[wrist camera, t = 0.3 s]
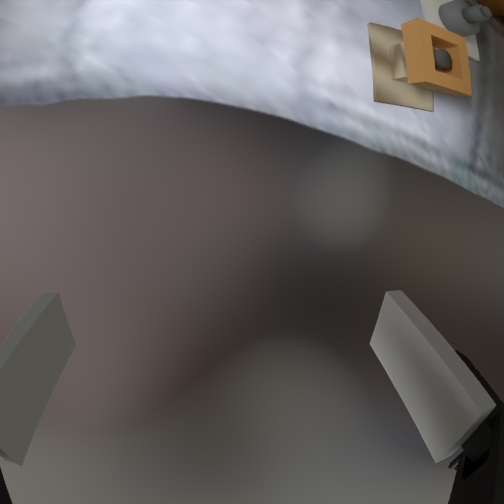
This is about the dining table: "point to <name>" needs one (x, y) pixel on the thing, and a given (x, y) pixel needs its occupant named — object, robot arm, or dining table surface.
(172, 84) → the dining table surface
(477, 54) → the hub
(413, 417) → the robot arm
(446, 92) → the ring
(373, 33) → the stand
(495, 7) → the disposable coffee cup
